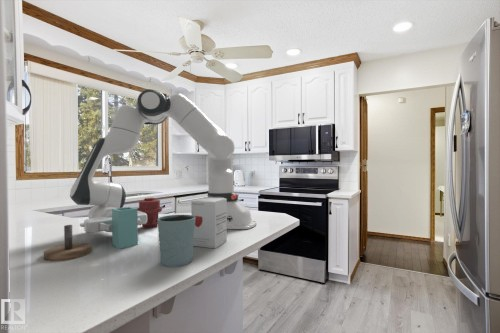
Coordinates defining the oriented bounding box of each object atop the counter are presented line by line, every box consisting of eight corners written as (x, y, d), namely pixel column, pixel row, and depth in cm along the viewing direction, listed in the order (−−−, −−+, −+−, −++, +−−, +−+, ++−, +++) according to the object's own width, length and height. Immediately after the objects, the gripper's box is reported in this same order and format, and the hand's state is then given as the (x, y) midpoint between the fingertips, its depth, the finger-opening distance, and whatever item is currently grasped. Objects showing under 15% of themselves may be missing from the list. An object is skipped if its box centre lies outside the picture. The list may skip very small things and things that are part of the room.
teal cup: (155, 269, 68) (154, 222, 68) (160, 256, 78) (159, 214, 78) (195, 266, 70) (195, 220, 70) (196, 253, 80) (195, 213, 80)
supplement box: (190, 246, 88) (190, 200, 87) (204, 238, 96) (203, 196, 96) (215, 249, 84) (215, 201, 84) (227, 241, 93) (227, 197, 93)
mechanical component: (144, 224, 121) (165, 224, 120) (132, 229, 111) (155, 230, 110) (144, 196, 120) (165, 196, 120) (132, 199, 111) (155, 199, 110)
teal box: (130, 241, 94) (130, 206, 94) (137, 244, 90) (137, 208, 90) (112, 244, 90) (111, 208, 90) (118, 248, 86) (118, 210, 86)
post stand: (100, 249, 85) (100, 222, 85) (65, 262, 74) (65, 231, 74) (71, 246, 88) (70, 220, 88) (33, 258, 77) (32, 229, 77)
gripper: (78, 215, 92) (89, 220, 82) (137, 207, 107) (153, 211, 97) (78, 233, 92) (90, 241, 83) (138, 223, 107) (154, 229, 97)
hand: (125, 225), depth 90 cm, fingers open, 8 cm apart
